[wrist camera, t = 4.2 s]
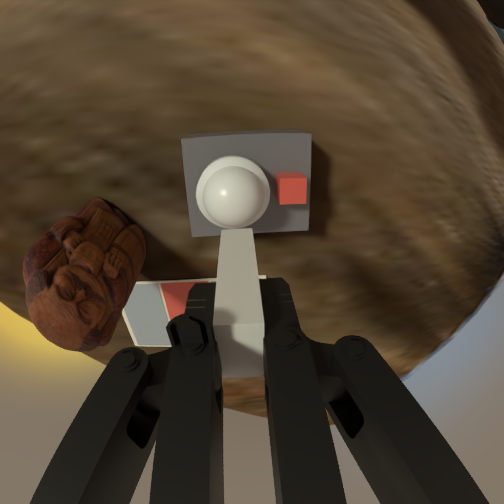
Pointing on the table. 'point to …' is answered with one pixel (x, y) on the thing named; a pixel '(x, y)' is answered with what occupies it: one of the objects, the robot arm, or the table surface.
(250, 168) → the dome
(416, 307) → the table surface
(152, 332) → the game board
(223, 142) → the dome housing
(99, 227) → the wooden figurine
